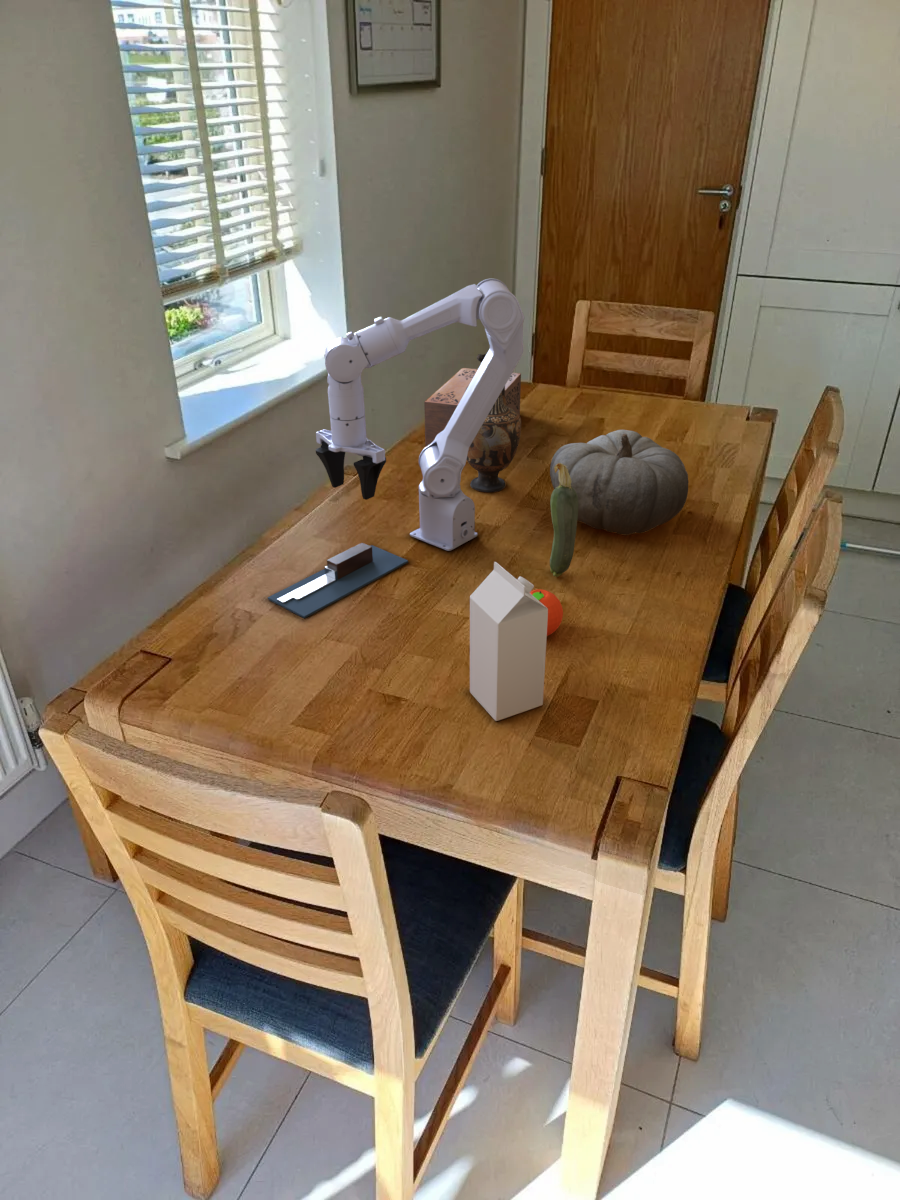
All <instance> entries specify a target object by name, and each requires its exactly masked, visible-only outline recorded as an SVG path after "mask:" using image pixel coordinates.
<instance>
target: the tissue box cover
mask: <svg viewBox="0 0 900 1200" xmlns="http://www.w3.org/2000/svg"><path fill="white" fill-rule="evenodd" d="M477 370H478V368H468V367H461V368H460V369H459V370H458V371H457V372H456V373H455V374H454V375H452V376H451V377H450V378H449V379H448V380H447V381H446V382H444V384H442V385H441V386H440V387H439V388H438V389H436V390H435V392H434V393H432V394H431V395H430V396H429V397H427V398H426V399H425V401H424V402H423V404H424V406H423V407H424V435H425V436H424V444H425V447H427V446H428V445H430V444H431V443H432V442H433V441H434V439H435V438H436V436H437V434H439V433H440V432H442V431H443V430H444V429H445V427H446V426H447V424H448V422H449V420H450V418H451V417H452V415H453V413H454V411H455V409H456V408H457V406H458V404H459V402H460V400H461V399H462V397H463V395H464V393H465V392H466V390H467V388H468V386H469V384H470V383H471V381H472V379H473V377H474V375H475V374H476V372H477ZM521 387H522V373H521V372H512V374H511V376H510V378H509V379H508V381H507V383H506V385H505V400H506V405H507V407H510V408H512V409H513V410H515V411H516V412H517V413H518V414H519V415H520V416H521V414H520V413H521V392H522V391H521Z"/></svg>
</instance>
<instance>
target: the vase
mask: <svg viewBox="0 0 900 1200" xmlns="http://www.w3.org/2000/svg"><path fill="white" fill-rule="evenodd" d="M486 354H487V352H486V353H484V354H482V353H479V354H477V356H476V359H477V361H478V362H480V364H481V363H482V361H483V359H484V358H485V356H486ZM521 434H522V418H521V414H520V415H519V414H518V413H517V412H516V411H515V410H513V409H512V408H510V407H507V405H506V400H505V386H504V388H503V390H502V391H501V393H500V395H499V397H498V398H497V400H496V402H495V404H494V405H493V407H492V409H491V410H490V412H489V414H488V416H487V417H486V419H485V421H484V423H483V424H482V426H481V428H480V429H479V431H478V433H477V435H476V436H475V438H474V440H473V442H472V443H471V445H470V447H469V450H468V454H467V460H466V463H468V465H470V467H472V469H474V470H475V471H477V477H475V478H473V479H471V481H470V484H469V485H470V486H469V487H471V489H473V490H474V491H475V490H476V491H478V492H482V493H496V492H497V493H498V492H500V491H502V490H504V489H505V488H506V486H507V484H506V481H505V480H504V479H503V478H502V477H499V474H500V472H502V471H504V470H505V469H506V468H508V467H509V465H510V464H511V463H512V461H513V460H514V459H515V456H516V453H517V450H518V448H519V444H520V441H521V436H522V435H521Z"/></svg>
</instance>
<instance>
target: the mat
mask: <svg viewBox="0 0 900 1200" xmlns="http://www.w3.org/2000/svg"><path fill="white" fill-rule="evenodd" d="M370 546H371V547H372V554H373V562H371V563H369V564H367V565H365V566H363V567H361V568H359V569H357V570H355V571H353V572H352V573H350V574H348V575H346V576H344V577H342V578H340V579H338V580H337V581H335V582H333V583H331V584H329V585H328V586H326V587H324V588H322V589H320V590H318V591H316V592H314V593H312V594H310V595H308V596H306V597H305V598H303V599H301V600H299V601H297V600H295V599H292V600H290V601H288V602H287V603H285V604H283V603H281V602H279V601H277V599H278V598H280V597H282V596H284V595H286V594H288V593H290V592H292V591H294V590H296V589H298V588H300V587H302V586H304V585H306V584H307V583H309V582H311V581H313V580H315V579H317V578H319V577H321V576H323V575H325V568H323V569H321V570H319V571H317V572H314V573H313V574H311V575H310V576H307V577H305V578H303V579H301V580H299V581H297V582H296V583H293V584H291V585H289V586H288V587H286V588H284V589H281V590H279V591H278V592H275V593H273V594H271V595H270V596H268V597H267V600H268V601H270V602H272V603H274V604H276V605H278V606H279V607H281V608H283V609H285V610H287V611H289V612H291V613H293V614H295V615H296V616H299V617H301V618H303V619H306V618H308V617H310V616H313V615H314V614H316V613H317V612H319V611H321V610H324V609H325V608H327V607H328V606H331V605H332V604H334V603H336V602H338V601H340V600H341V599H343V598H345V597H347V596H349V595H351V594H352V593H354V592H356V591H358V590H360V589H362V588H364V587H366V586H367V585H369V584H371V583H373V582H374V581H376V580H378V579H380V578H382V577H384V576H386V575H388V574H389V573H391V572H394V571H395V570H397V569H399V568H401V567H403V566H404V565H407V564H408V563H409V560H408V559H406V558H403V557H402V556H399V555H397V554H394V553H391V552H389V551H387V550H385V549H382V548H380V547H377V546H375V545H373V544H370Z"/></svg>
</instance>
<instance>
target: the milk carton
mask: <svg viewBox="0 0 900 1200" xmlns="http://www.w3.org/2000/svg"><path fill="white" fill-rule="evenodd" d="M534 588H535V585H534V584H533V583H532V582H530V580H528V579H526V578H525V577H523V576H518V577H517V578H516V577H515V576H514V575H512V574H511V573H510V572H509V571H508V570H506V568H504V567H502V565H500V564H499V563H498V562H497V561H493V570H492V571H491V572H490V573H489V574H488V575H487V576H486V577H485V579H484V580H483V581H482V582H480V584H479V585H478V586H477V588H476V589H475V590H474V591H473V592H472V593H471V594H470V596H469V693H470V694H471V695H472V697H473V698H474V699H475V700H476V701H477V702H478V703H479V705H480V706H481V707H482V708H483V709H484V710H485V711H486V713H488V714H489V716H490V717H491V718H492V719H493V720H494V721H495V722H497V721H498V722H499V721H501V720H504V719H507V718H510V717H512V716H513V717H514V716H515V715H518V714H521V713H524V712H527V711H530V710H533V709H536V708H539V707H541V706H543V705H544V694H545V693H544V691H545V674H546V656H547V638H548V636H547V621H548V608H547V607H546V606H544V605H543V604H542V603H541V602H540V601H539V600H537V599H536V598H535V597H534V596H533V595H531V594H530V592H531V591H532V590H534Z"/></svg>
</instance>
